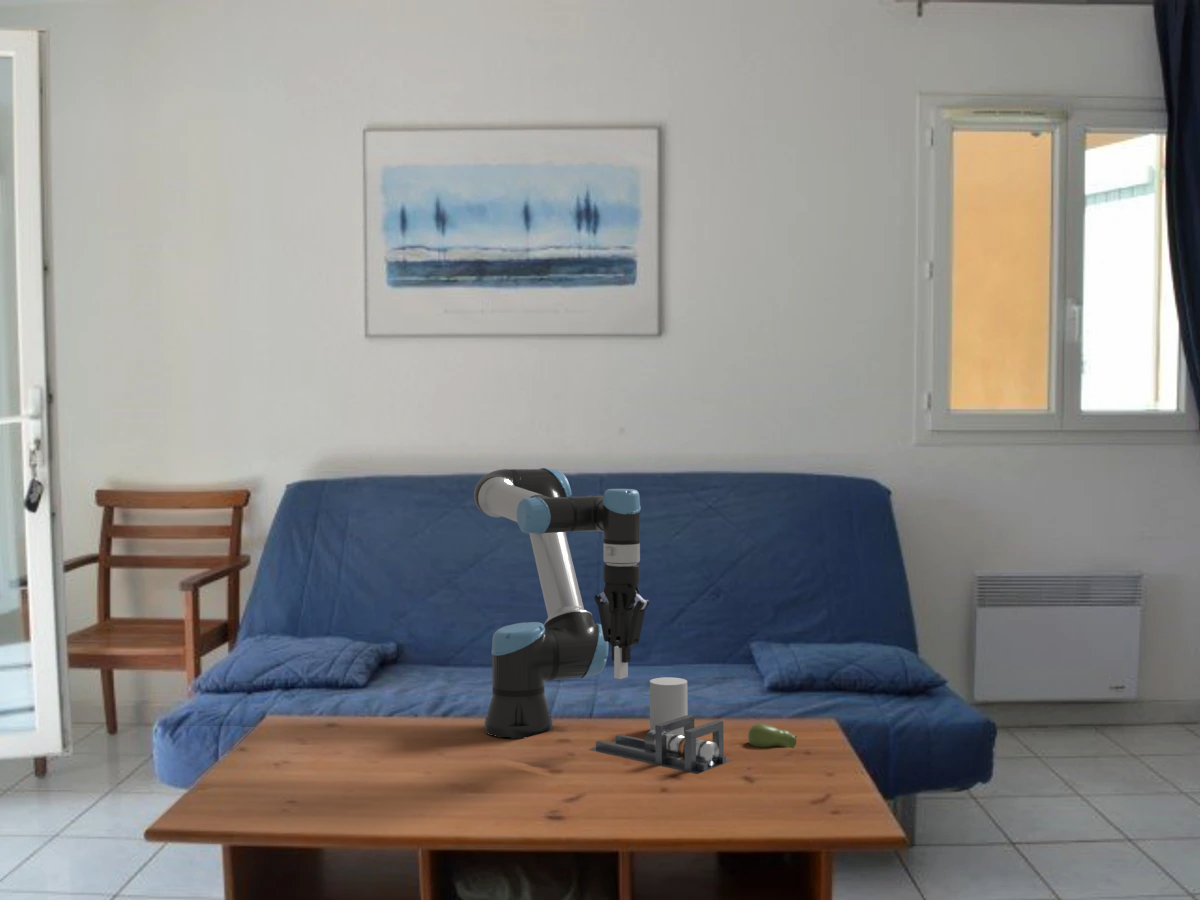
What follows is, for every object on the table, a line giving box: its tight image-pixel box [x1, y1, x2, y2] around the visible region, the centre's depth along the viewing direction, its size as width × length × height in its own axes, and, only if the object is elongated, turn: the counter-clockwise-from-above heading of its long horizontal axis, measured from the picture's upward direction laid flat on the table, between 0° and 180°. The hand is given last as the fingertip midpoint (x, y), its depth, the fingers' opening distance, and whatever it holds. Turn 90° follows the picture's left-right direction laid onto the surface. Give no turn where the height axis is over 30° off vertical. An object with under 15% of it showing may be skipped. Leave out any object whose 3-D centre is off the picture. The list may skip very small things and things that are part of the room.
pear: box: [747, 723, 797, 749], centre depth 227 cm, size 6×5×10 cm
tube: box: [644, 730, 719, 766], centre depth 216 cm, size 15×4×4 cm, turn 50°
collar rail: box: [588, 714, 733, 775], centre depth 219 cm, size 27×12×8 cm, turn 50°
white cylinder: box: [649, 676, 688, 736], centre depth 238 cm, size 8×8×12 cm
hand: (621, 677), depth 226 cm, fingers closed
